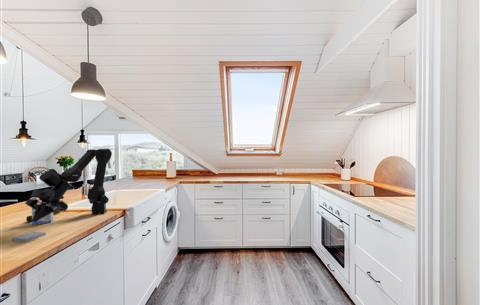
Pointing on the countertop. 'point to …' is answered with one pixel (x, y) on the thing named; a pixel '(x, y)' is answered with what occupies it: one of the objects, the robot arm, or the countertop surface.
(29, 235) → the tile
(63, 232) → the countertop surface
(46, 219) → the medicine box
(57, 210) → the hand tool
